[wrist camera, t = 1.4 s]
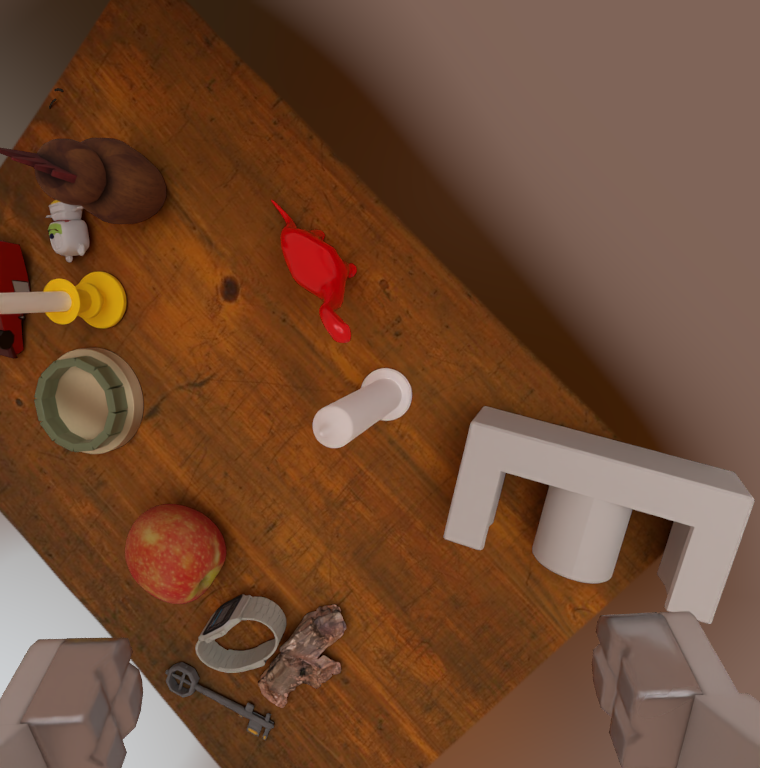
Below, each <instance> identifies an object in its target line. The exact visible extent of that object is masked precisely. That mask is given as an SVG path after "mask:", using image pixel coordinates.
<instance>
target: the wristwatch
mask: <svg viewBox="0 0 760 768" xmlns="http://www.w3.org/2000/svg"><path fill="white" fill-rule="evenodd" d="M241 620H255V621H258V622H261V623H263V624H266V626H268V627H269V628H270V629H271V631H272V632H273V633H274V636H275V639H273V640H270V641H268V642H266V643H263V644H261V645H259V646H258V647H256V648H253V649H250V650H245V651H236V650H231V649H229V650H226V649H224V648H223V647H221V646H220V645H219V644H218V643H217V642H215V639H217V638H219V637H221V636H223V635H225V634H226V633H227V632H228V631H229V630H230V629H231V628H232V627H233V626H235V625H236V624H237V623H239V622H240V621H241ZM285 628H286V618H285V614H284V613H283V611H282V609H280V607H279V606H278V605H277V604H276V603H274V602H273V601H270V600H269V599H267V598H264V597H252V596H251V595H247V596H245V595H244V594H242V595H240V596H237V597H236V598H234V599H232V600H230V601H228V602H226V603H224V604H223V605H222V606H220V607H219V608H218V609H217V610H216V611H215V613H214V614H213V615H212V616H211V618H210V620H209V621H208V623H207V624H206V626H205V628H204V629H203V631H202V633H201V634H200V636H199V640H198V642H197V644H196V648H195V649H196V653H197V655H198V657H199V659H200V660H201V661H202V662H203V663H205V664H206V665H207V666H209V667H211V668H213V669H215V670H219V671H222V672H228V673H235V672H236V673H238V672H243V671H247V670H250V669H255V668H258V667H262V666H264V665H265V663H266V661H267V659H268V658H269V657H270V656H272V654H273V653H274V652H275V650H276V648H277V646H278V644H279V642H280V640H281V638H282V636H283V633H284V631H285Z"/></svg>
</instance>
